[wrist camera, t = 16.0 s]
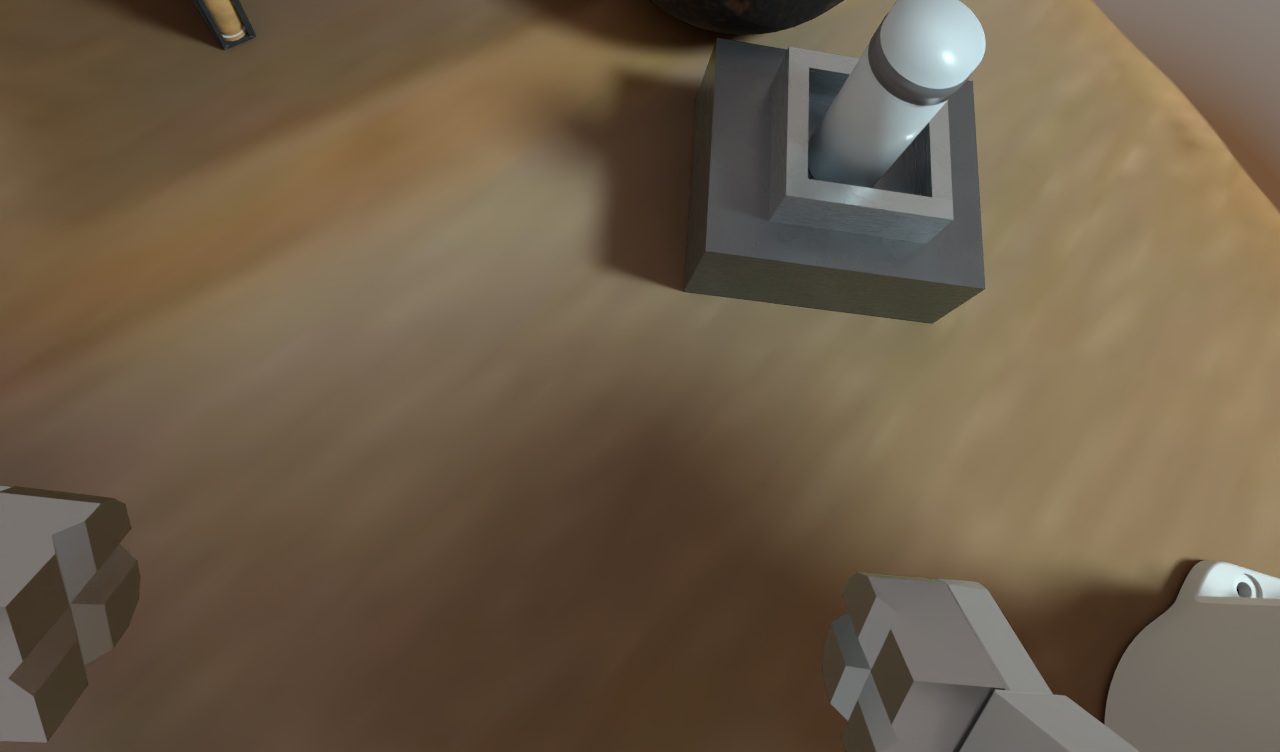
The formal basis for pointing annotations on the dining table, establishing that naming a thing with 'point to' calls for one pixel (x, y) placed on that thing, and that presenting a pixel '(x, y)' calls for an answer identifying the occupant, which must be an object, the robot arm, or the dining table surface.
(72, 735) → the dining table surface
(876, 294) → the square socket base
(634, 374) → the dining table surface
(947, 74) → the dome-capped cylinder
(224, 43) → the ammunition clip
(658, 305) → the dining table surface
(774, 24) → the glass bottle
